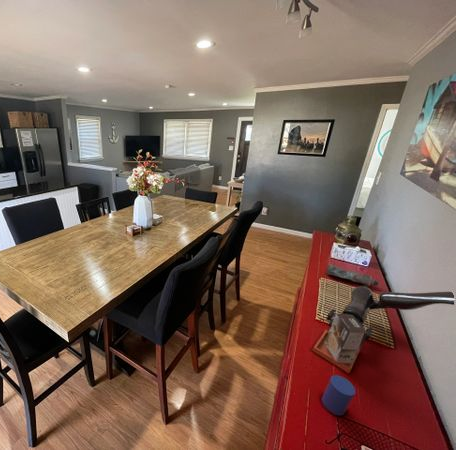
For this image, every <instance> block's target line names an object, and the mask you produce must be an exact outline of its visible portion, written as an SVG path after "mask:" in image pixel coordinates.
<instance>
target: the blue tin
mask: <svg viewBox="0 0 456 450" xmlns="http://www.w3.org/2000/svg"><path fill="white" fill-rule="evenodd" d="M355 394H356V388H355V386H354V385H353V384H352V382H351V381H349V380H348V379H347V378H345V377H343V376H341V375H336V374H335V375H332V376H331V377H330V379H329V381H328V383H327V385H326V388H325V390H324V392H323V394H322V397H321V402H322V404H323V406H324V408H325V409H326V410H327V411H328V412H330V413H331V414H333V415H336V416H344V415H345V413H346V411H347V409H348V407H349V406H350V404H351V402H352V401H353V398H354V396H355Z"/></svg>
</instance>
